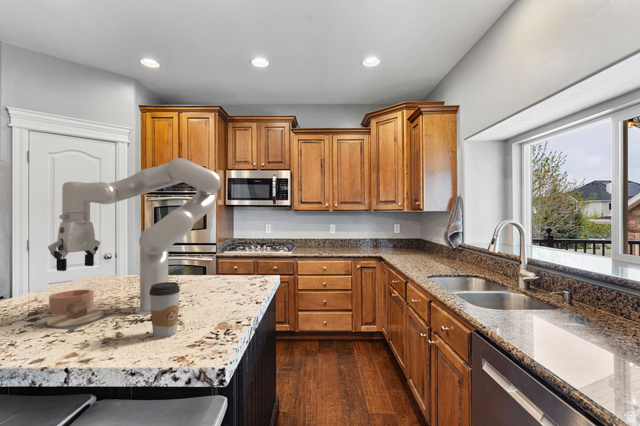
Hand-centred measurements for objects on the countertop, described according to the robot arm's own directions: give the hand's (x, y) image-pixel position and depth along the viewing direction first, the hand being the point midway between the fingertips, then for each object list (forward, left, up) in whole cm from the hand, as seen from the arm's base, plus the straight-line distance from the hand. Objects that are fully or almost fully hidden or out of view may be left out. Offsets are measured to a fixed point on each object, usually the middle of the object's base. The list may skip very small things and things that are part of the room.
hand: (76, 268), depth 105 cm
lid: (0, 0, -18) cm, 18 cm away
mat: (0, 0, -18) cm, 18 cm away
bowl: (+15, -11, -18) cm, 26 cm away
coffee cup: (-38, +5, -18) cm, 43 cm away
